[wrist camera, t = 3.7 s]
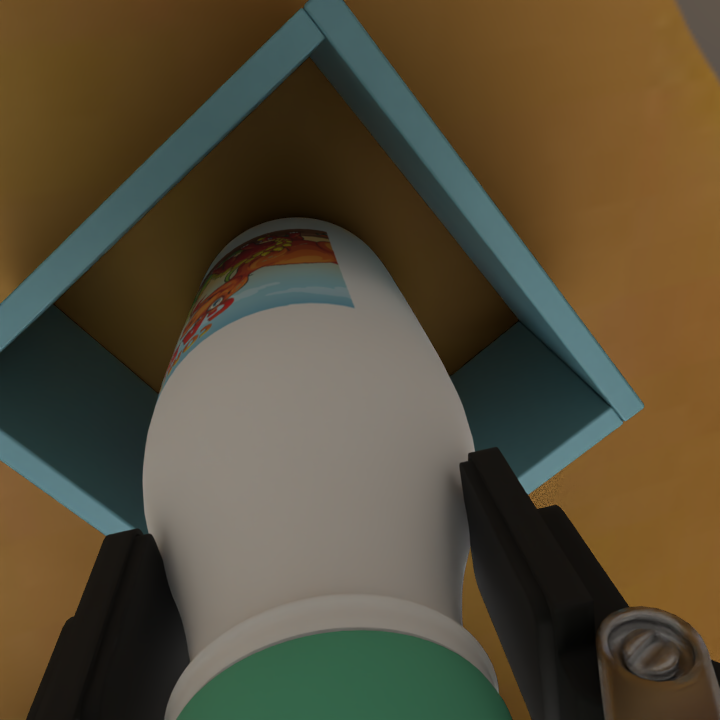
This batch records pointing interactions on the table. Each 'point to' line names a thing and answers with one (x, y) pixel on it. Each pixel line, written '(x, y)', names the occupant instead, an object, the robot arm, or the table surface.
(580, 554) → the robot arm
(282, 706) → the milk bottle
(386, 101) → the case
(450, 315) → the table surface
